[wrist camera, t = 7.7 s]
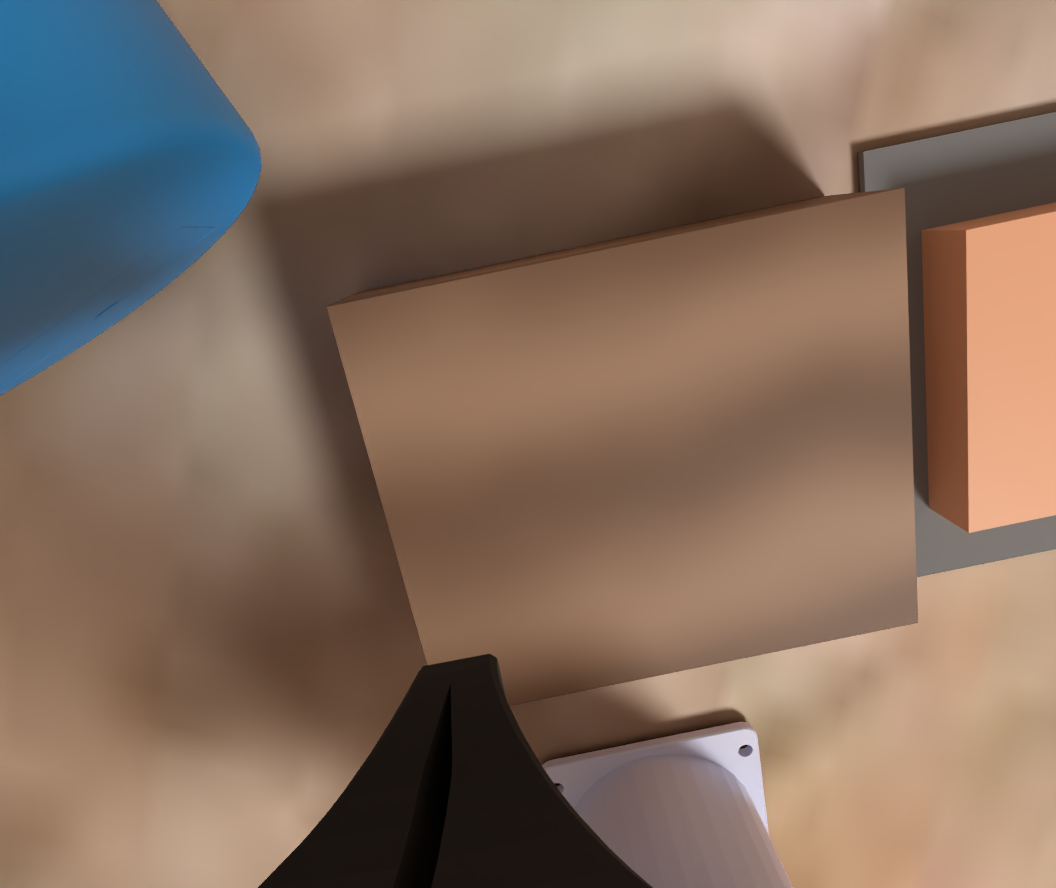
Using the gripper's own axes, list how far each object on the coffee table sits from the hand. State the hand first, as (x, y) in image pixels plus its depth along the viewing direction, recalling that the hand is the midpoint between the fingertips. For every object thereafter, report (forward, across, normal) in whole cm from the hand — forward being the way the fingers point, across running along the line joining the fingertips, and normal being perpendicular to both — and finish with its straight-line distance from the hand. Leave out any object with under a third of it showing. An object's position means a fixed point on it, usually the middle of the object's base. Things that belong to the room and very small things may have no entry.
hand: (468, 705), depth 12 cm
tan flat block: (+10, -5, -1) cm, 12 cm away
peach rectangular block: (+8, -18, -1) cm, 19 cm away
